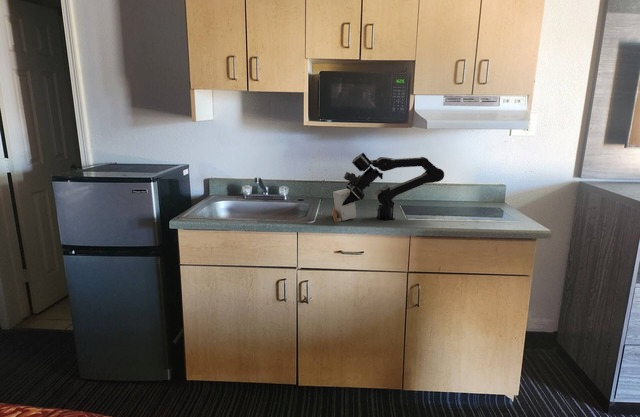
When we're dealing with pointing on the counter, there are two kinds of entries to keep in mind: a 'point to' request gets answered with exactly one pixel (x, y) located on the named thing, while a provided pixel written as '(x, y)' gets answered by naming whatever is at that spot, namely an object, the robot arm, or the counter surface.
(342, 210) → the supplement box
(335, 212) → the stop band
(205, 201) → the counter surface
